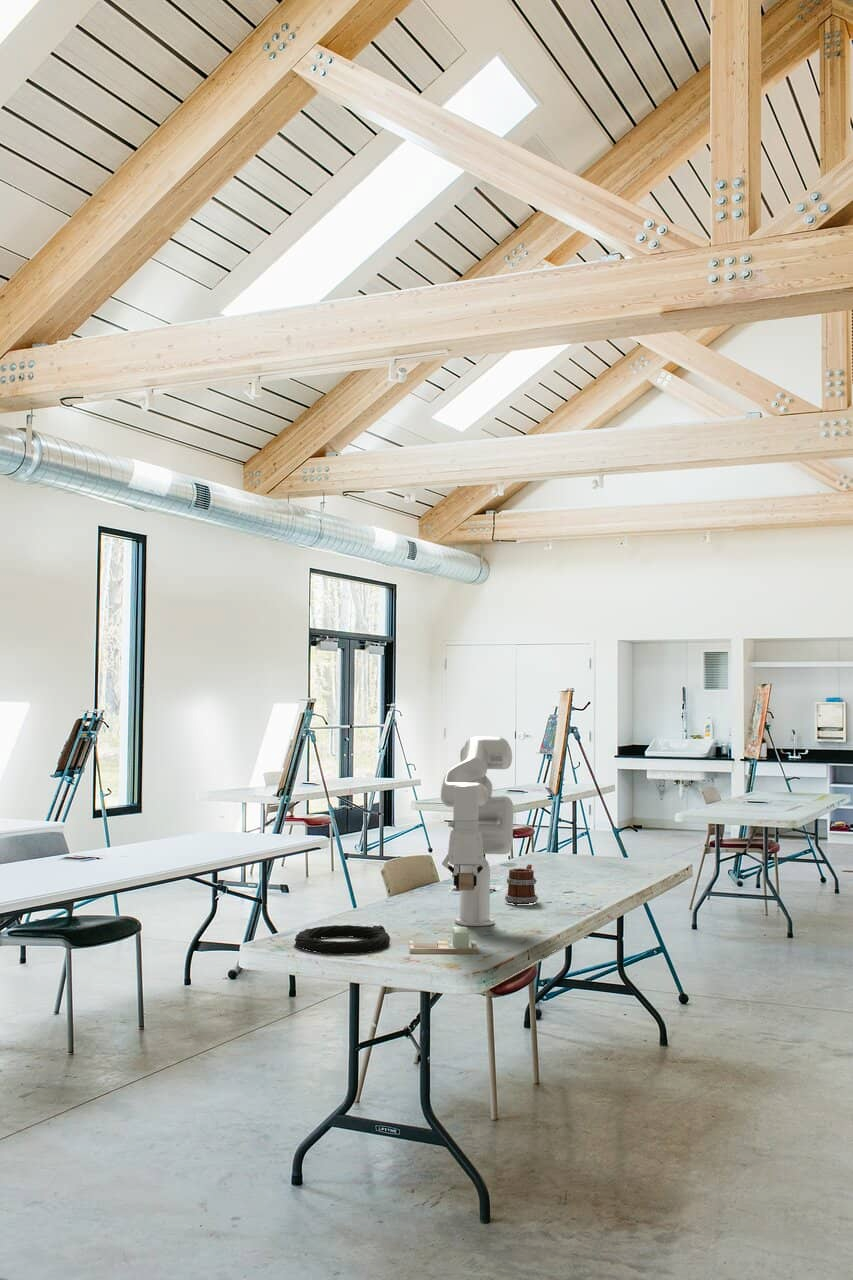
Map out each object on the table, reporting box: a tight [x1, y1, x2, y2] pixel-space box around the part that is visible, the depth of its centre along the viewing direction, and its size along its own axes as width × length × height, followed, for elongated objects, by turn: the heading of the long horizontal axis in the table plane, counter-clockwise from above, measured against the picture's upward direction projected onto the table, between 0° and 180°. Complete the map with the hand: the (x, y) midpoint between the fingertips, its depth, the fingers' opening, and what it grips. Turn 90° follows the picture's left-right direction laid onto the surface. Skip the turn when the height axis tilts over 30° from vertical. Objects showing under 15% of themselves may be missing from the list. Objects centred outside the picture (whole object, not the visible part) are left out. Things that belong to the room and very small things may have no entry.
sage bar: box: [452, 926, 470, 948], centre depth 316 cm, size 9×4×5 cm, turn 3°
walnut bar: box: [457, 871, 473, 891], centre depth 327 cm, size 9×4×5 cm, turn 3°
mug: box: [504, 864, 539, 904], centre depth 396 cm, size 12×14×15 cm
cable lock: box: [294, 924, 391, 955], centre depth 320 cm, size 28×4×30 cm
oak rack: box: [408, 938, 479, 954], centre depth 315 cm, size 13×19×1 cm
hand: (465, 887), depth 328 cm, fingers closed on walnut bar, 4 cm apart
